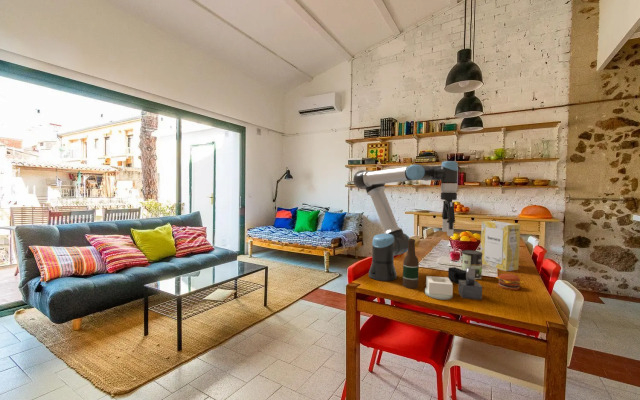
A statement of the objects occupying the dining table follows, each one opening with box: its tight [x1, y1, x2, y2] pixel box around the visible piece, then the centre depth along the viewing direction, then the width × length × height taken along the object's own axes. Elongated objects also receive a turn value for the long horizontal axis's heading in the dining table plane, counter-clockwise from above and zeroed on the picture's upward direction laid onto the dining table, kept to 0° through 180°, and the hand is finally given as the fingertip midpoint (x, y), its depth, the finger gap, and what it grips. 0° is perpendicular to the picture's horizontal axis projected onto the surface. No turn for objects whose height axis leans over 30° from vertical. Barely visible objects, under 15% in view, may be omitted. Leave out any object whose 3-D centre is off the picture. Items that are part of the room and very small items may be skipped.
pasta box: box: [480, 220, 521, 272], centre depth 187 cm, size 18×10×28 cm, turn 20°
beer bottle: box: [402, 238, 420, 289], centre depth 149 cm, size 8×8×24 cm
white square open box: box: [425, 275, 454, 295], centre depth 138 cm, size 10×10×5 cm
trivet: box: [424, 287, 454, 301], centre depth 138 cm, size 12×12×2 cm
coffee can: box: [461, 249, 483, 280], centre depth 166 cm, size 10×10×14 cm
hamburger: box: [495, 273, 524, 291], centre depth 150 cm, size 9×10×7 cm
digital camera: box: [447, 266, 466, 286], centre depth 155 cm, size 10×5×7 cm, turn 18°
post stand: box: [457, 267, 483, 301], centre depth 137 cm, size 8×8×13 cm
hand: (447, 233), depth 150 cm, fingers open, 13 cm apart
